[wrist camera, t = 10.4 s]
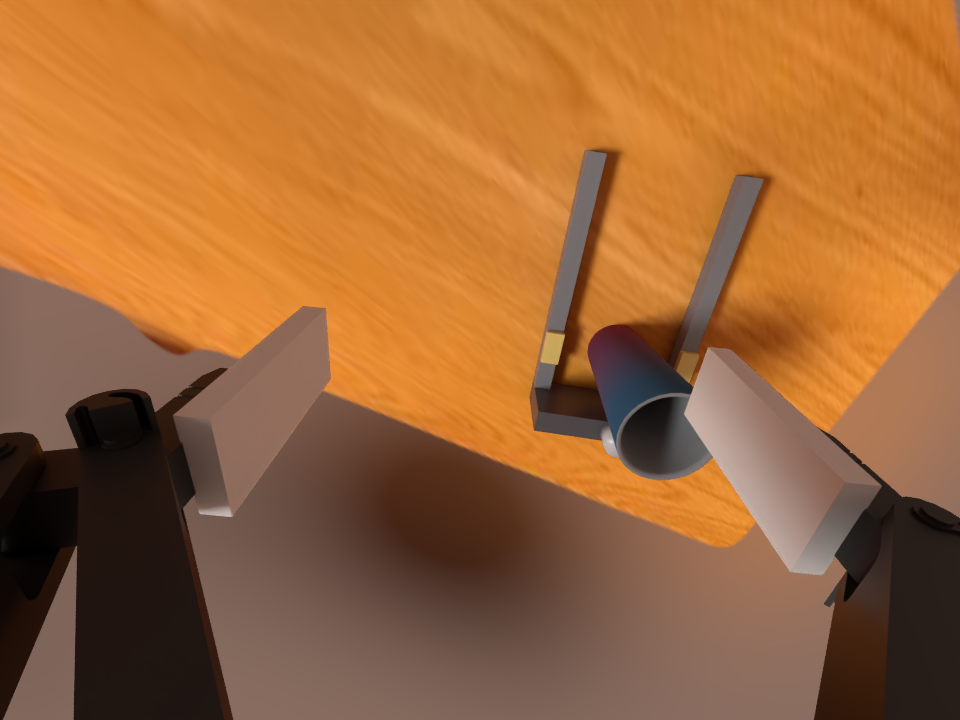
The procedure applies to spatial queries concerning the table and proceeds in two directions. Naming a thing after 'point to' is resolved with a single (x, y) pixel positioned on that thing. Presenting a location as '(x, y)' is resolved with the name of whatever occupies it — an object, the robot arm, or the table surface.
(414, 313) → the table surface
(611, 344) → the cup
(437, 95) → the table surface
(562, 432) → the grey u-shaped fork
